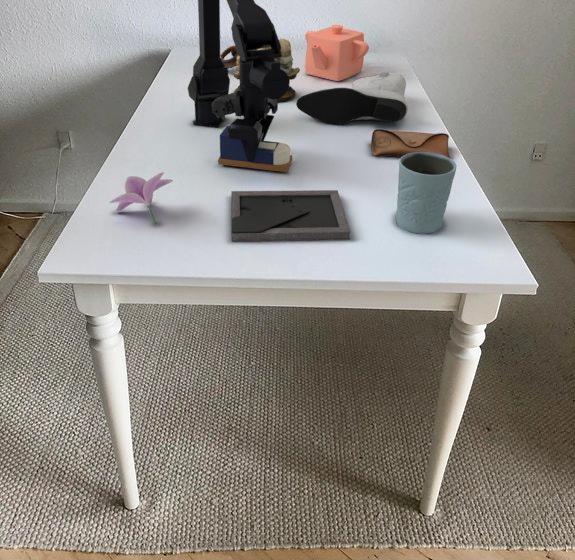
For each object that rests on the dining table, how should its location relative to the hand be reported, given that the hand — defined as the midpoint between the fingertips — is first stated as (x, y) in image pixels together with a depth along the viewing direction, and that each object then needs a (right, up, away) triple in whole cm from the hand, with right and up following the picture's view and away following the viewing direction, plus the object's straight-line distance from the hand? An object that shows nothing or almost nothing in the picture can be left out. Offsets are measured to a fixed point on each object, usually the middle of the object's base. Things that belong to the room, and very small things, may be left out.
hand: (253, 155), depth 134 cm
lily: (-19, -15, -18) cm, 30 cm away
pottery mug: (-8, +37, +56) cm, 68 cm away
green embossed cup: (+32, -16, -17) cm, 39 cm away
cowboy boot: (+25, +18, +31) cm, 43 cm away
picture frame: (+7, -15, -17) cm, 24 cm away
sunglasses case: (+36, +2, +9) cm, 37 cm away
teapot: (+20, +35, +54) cm, 67 cm away
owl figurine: (+1, +24, +38) cm, 45 cm away
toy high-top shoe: (0, -1, +1) cm, 2 cm away
